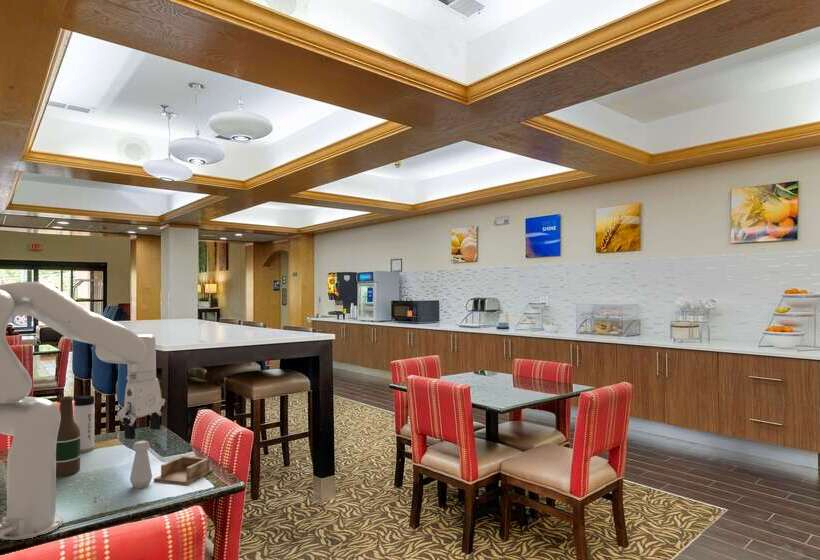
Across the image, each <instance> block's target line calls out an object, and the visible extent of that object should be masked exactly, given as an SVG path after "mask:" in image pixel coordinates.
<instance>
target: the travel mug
mask: <svg viewBox="0 0 820 560" xmlns="http://www.w3.org/2000/svg"><path fill="white" fill-rule="evenodd" d="M72 397H73V399H74V406H73V407H74V408H73V418H74V422H75V423H76V424H77V425H78V427H79V429H80V454H82V453H88V452H90V451H93V450H94V449H95V403H96V402H95V396H94V395H90V394H89V395H88V394H83V395H81V394H80V395H76V394H74V395H73V396H72Z"/></svg>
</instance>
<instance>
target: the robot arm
mask: <svg viewBox="0 0 820 560" xmlns="http://www.w3.org/2000/svg"><path fill="white" fill-rule="evenodd" d="M18 316H28V317H29V316H30V317H32V318H34V319H35V320H37V321H39V322H41V323H42V324H44V325H46V326H47V327H49V328H50V329H52V330H53V331H55V332H57V333H59V334H60V335H62V336H64V337H65V338H68V339H70V340H73V341H76V342H80V343H85V344H89V345H94V346H95V355H96V357H97V358H98V359H99V361H100V360H101V362H104V363H107V364H121V365H123V364H124V365H127V376H126V378H125V379H126V380H127V383H126V386H125V390H124V391H125V392H124V393H125V394H124V406H122V408H121V409H120V410H118V411H117V413H116V416H117V417H118V419H119V422H121V424H122V425H123V426H124V427H123V428H124V439H125V440H135V439H136V424H134V423H135V421H136V420H137V418H142V417H146V416H148V415H150V416H149V429H150V430H157V431H158V430H160V429H161V416H162V412H163V410H164V405H165V402H166V399H165V398H163V397H162V393H161V386H160V381H159V379H158V378H157V350H156V348H157V347H156V345H157V344H156V337H155V335H154V334H148V333H143V334H136V333H135V332H133V331H132V330H130V329H129V328H127V327H125V326H124V325H121V324H120V323H118V322H116V321H113V320H111V319H109V318H106V317H104V316H103V315H100V314H98V313H96V312H93V311H91V310H89V309H88V308H87V307H85V306H83V305H82V304H80V303H79V302H78V301H76V300H74V299H73V298H72V297H70V296H69V295H67V294H66V293H65V292H63V291H61V290H60V289H59V288H57V287H55V286H54V285H52V284H50V283H47V282H46V281H45V282H44V281H23V282H22V281H20V282H19V281H18V282H10V283H3V284H0V434H1V435H6V436H12V437H13V438H12V442H11V445H10V447H9V450H8V453H7V454H8V455H7V460H6V461H7V462H6V463H7V464H6V465H7V466H6V470H7V475H6V480H7V481H6V482H7V483H6V516H3V517H1V522H0V538H2V539H6V540H7V539H9V540H18V539H19V540H20V539H26V538H32V539H34V538H33V537H36V536H37V535H40V534H43V533H47V532H49V531H52V530H54V531H56V530H58V529H59V528H60V527H61V526H62V525H63V524H64V517H63V516H62V515H61V514H58V513H57V512H56V506H57V505H56V503H57V501H56V499H57V498H56V495H57V491H56V489H57V484H56V483H57V482H56V481H57V477H56V443H57V435H58V431H59V426H60V421H61V413H60V407H58V405H57V404H56V403H54V401H52V400H49V399H47V398H42V397H36V396H28V395H29V394H30V393H31V392H32V388H33V380H32V377H31V375H30V374H29V372H28V370H27V369H26V367H25V366H24V365H23V363H22V362H21V361H20V359H19V358H18V357H17V355H16V353H15V352H14V351H13V349H12V348H11V346H10V344H9V342H8V339H7V334H6V333H7V327H8V325H9V324H10V323H9V322H10V321H11V318H12V317H18ZM56 513H57V514H56ZM59 526H60V527H59ZM58 527H59V528H58ZM57 528H58V529H57ZM55 529H56V530H55ZM52 532H53V531H52ZM36 538H37V537H36Z"/></svg>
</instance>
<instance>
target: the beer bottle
mask: <svg viewBox="0 0 820 560" xmlns="http://www.w3.org/2000/svg"><path fill="white" fill-rule="evenodd" d="M73 400H74V398H73V396H71V395H70V396H62V397H60V398H59V400H58V402H59V410H60V413H61V421H60V426H59V431H58V435H57V443H56V478H58V477H59V476H60V477H66V476H67V477H68V476H72V475H75V474H76V472H77V473H78V472H79V471H80V469H81V453H80V429H79V427H78V425H77V424H76V423H75V422H74V408H73V407H74V406H73ZM71 474H72V475H71ZM60 477H59V478H60Z"/></svg>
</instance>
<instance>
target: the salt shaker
mask: <svg viewBox="0 0 820 560" xmlns="http://www.w3.org/2000/svg"><path fill="white" fill-rule="evenodd" d="M150 446H151V445H150V442H149V440H139V441H135V442H134V444H132V450H133V451H134V452H135V453H134V460H133V461H132V462H133V463H132V468H131V471H130V477H129V481H130V483H131V485H132V488H133V489H143V488H146V487H148V486H149V485H150V483H151V481H152V479H153V474H152V473H153V472H152V467H151V462H150V457H149V456H150V455H149V452H148V450H149V449H150Z"/></svg>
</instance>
